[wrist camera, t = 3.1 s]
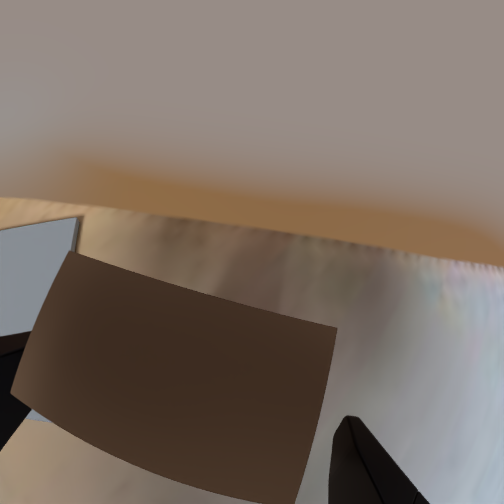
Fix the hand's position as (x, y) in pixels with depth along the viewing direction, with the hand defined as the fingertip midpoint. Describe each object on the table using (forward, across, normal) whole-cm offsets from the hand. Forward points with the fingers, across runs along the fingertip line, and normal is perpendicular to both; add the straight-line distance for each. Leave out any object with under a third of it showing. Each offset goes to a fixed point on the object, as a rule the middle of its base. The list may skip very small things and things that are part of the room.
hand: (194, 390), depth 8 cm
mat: (+6, +14, +6) cm, 16 cm away
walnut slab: (+5, 0, +6) cm, 8 cm away
